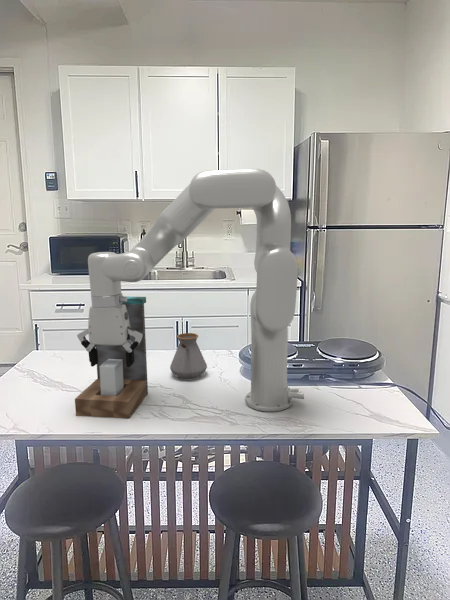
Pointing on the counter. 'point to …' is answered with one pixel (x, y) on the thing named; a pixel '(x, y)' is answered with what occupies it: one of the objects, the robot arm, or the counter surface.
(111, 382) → the skincare box
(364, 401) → the counter surface
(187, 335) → the coffee pot
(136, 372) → the socket station
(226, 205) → the robot arm
